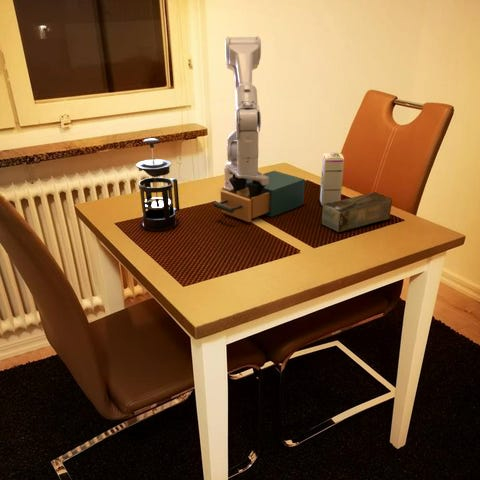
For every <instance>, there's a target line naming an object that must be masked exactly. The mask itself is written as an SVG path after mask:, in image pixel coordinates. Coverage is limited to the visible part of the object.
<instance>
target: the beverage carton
mask: <svg viewBox="0 0 480 480" xmlns="http://www.w3.org/2000/svg"><path fill="white" fill-rule="evenodd" d="M392 204H393V198H391V197H388V196H386V195H384V194H382V193H381V194H380V193H378V192H375V191H373V192H369V193H365V194H362V195H361V194H360V195H357V196H352V197H349V198H345V199H344V198H343V199H341V200H340V201H336V202H331V203H326V204H323V206H322V214H321V224H322V225H323V226H325V227H327V228H329V229H331V230H333V231H335V232H337V233H340V232H344V231H348V230H352V229H357V228H360V227H364V226H367V225H371V224H375V223H379V222H381V221H386V220H390V218H391V211H392V206H393V205H392Z"/></svg>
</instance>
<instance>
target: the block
mask: <svg viewBox="0 0 480 480" xmlns="http://www.w3.org/2000/svg"><path fill="white" fill-rule="evenodd" d="M237 195H239V196H242V197H245V198H248V199H250V193H249V189H248V188H245V189H242V190H239V191H237Z"/></svg>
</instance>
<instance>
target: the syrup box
mask: <svg viewBox="0 0 480 480" xmlns="http://www.w3.org/2000/svg"><path fill="white" fill-rule="evenodd" d="M344 166H345V157H344V154H343V153H341V152H325V153H322V165H321V178H320V191H319V192H320V193H319V202H320V205H321V206H322V207H323V204H326V203H331V202H336V201H340V200H342V189H343V179H344Z"/></svg>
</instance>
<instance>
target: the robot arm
mask: <svg viewBox="0 0 480 480" xmlns="http://www.w3.org/2000/svg"><path fill="white" fill-rule="evenodd" d="M224 48H225V49H224V52H225V54H224V55H225V66H226V68H227V69H228V70H230V71H232V73H233V77H234V107H235V108H234V112H235V115H234V117H235V118H234V124H235V125H234V127H235V129H234V130H233V131H231V132H230V133H229V134H228V135H227V137H226V160H227V162H226V163H225V165H224V170H223V172H224V175H223V176H224V186H223V187H222V189H223V190H226V191H228V190H230V189H234V191H235V194H236V195H237V191H239V190H242V189H245V186H246V181H247V179H248V180H251V181H253V183H249V184H247V186H248V189H249V193H250V199H251V198H252V197H255V196H258V195H261V193H262V191H263V189H264V187H265V186H266V185H267V184H269V177H267V176H265V175H263V174H264V173H261V172H260V171H259V133H260V132H261V127H262V126H261V125H262V115H261V109H260V106H259V104H258V103H259V102H258V90H257V87H256V86H255V85H254V84H253V71H254V70H256V69H258V66H259V64H260V61H261V58H262V57H261V56H262V40H261V38H260V37H259V36H226V38H225V40H224Z"/></svg>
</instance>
